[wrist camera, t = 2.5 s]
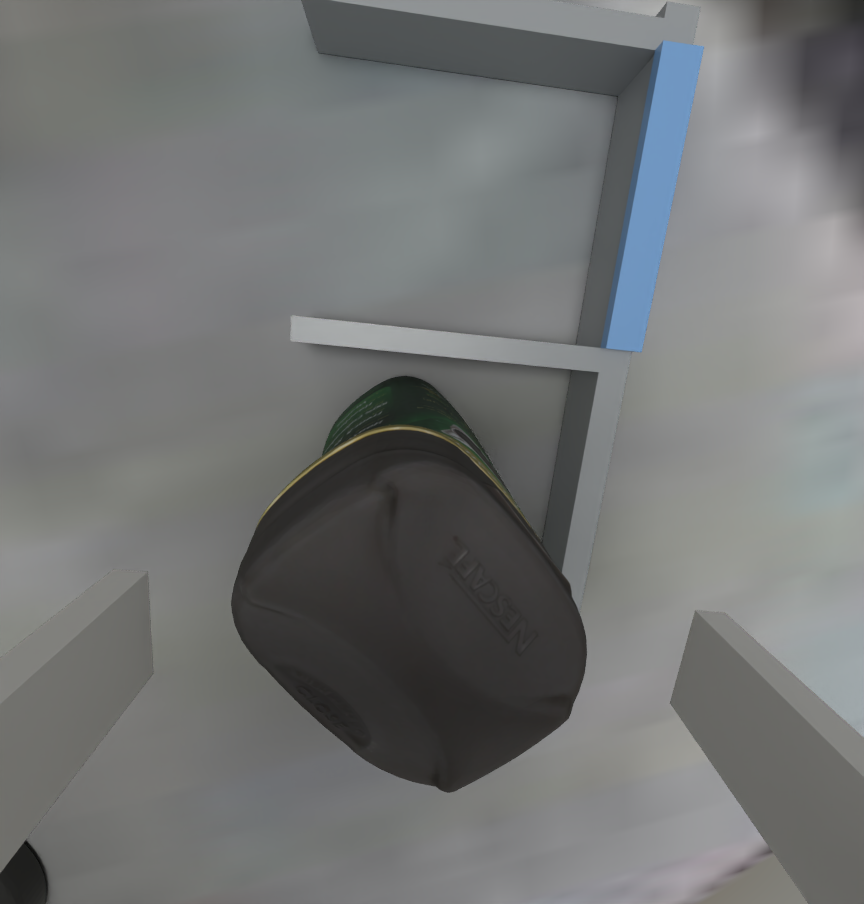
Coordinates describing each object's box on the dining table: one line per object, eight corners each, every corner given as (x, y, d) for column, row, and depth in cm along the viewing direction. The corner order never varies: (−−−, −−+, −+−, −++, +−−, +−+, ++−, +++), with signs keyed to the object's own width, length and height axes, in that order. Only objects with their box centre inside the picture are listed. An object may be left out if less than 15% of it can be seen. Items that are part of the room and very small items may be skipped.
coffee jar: (309, 436, 28) (126, 622, 10) (413, 353, 27) (421, 390, 9) (409, 551, 30) (410, 876, 12) (508, 478, 29) (671, 710, 11)
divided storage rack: (299, 571, 30) (279, 614, 25) (319, 9, 23) (297, -73, 18) (563, 589, 31) (590, 632, 27) (662, 61, 24) (722, -4, 19)
